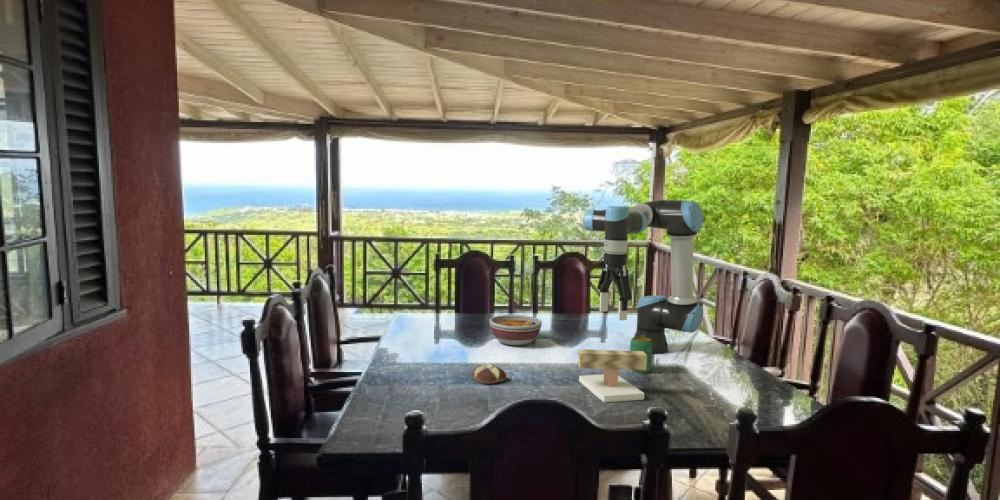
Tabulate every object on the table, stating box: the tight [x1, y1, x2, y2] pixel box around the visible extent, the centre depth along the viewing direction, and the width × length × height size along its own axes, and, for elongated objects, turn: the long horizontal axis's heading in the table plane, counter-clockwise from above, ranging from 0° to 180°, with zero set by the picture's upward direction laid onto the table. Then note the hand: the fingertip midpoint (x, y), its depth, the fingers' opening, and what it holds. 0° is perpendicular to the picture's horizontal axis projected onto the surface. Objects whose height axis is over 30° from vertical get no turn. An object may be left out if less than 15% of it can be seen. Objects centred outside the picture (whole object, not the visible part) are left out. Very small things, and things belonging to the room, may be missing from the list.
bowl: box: [489, 314, 543, 346], centre depth 240 cm, size 23×23×10 cm
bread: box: [471, 363, 507, 385], centre depth 191 cm, size 11×11×5 cm
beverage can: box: [629, 336, 653, 374], centre depth 206 cm, size 8×8×12 cm
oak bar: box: [577, 348, 647, 371], centre depth 183 cm, size 22×5×5 cm, turn 89°
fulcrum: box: [578, 369, 645, 403], centre depth 183 cm, size 14×20×8 cm
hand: (612, 315), depth 184 cm, fingers open, 13 cm apart
